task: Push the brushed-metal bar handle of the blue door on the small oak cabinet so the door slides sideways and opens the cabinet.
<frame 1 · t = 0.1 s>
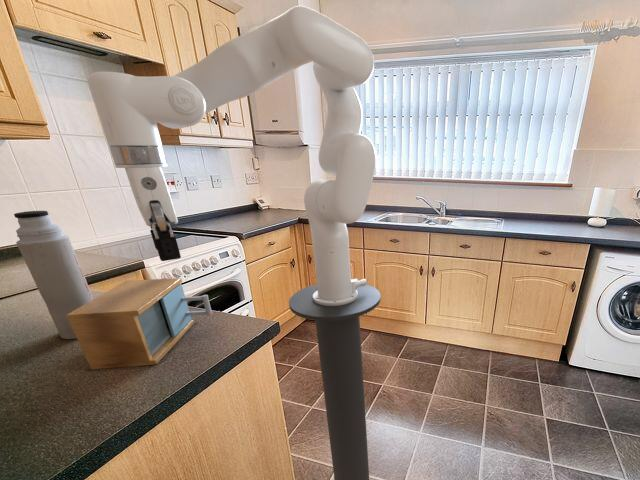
hand: (168, 253, 65), 21 cm above the table, tool pointing down, fingers open, 9 cm apart
thermos bottle: (83, 331, 81), on the table
cabinet: (148, 343, 75), on the table
blue door: (190, 308, 77), point 6 cm above the table, slide at 0.0 cm
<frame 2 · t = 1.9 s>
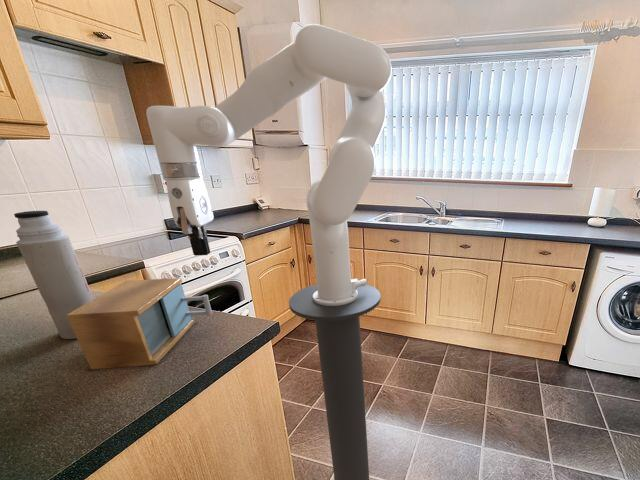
hand: (202, 254, 80), 17 cm above the table, tool pointing down, fingers closed
nothing on the table moved.
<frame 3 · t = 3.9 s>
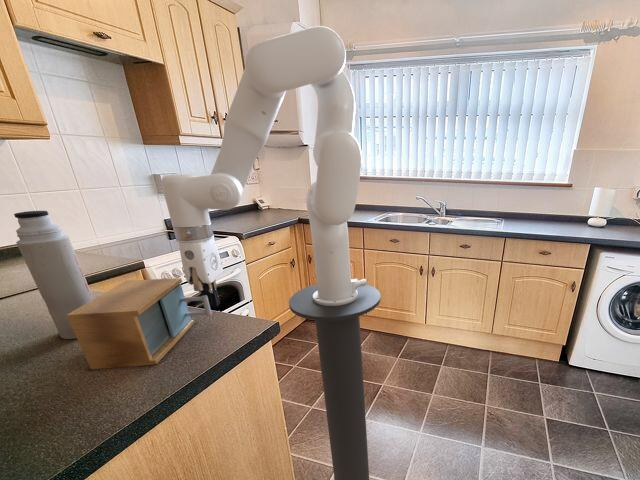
hand: (212, 305, 84), 4 cm above the table, tool pointing down, fingers closed
blue door: (189, 309, 77), point 6 cm above the table, slide at 0.3 cm, touching gripper
everything else where it was.
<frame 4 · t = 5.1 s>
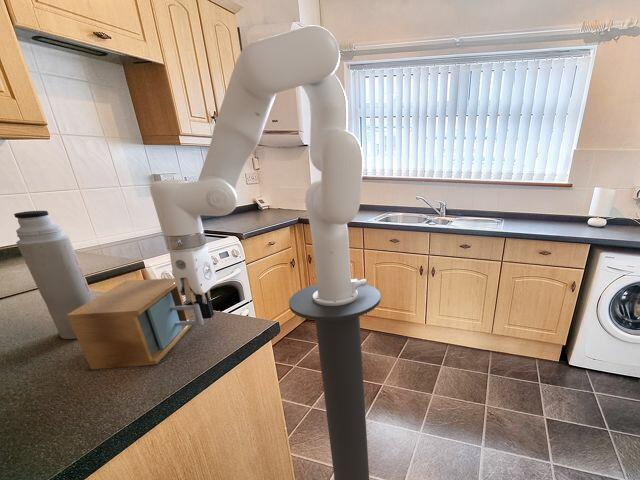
hand: (205, 316, 80), 3 cm above the table, tool pointing down, fingers closed
blue door: (179, 319, 73), point 6 cm above the table, slide at 5.2 cm, touching gripper
everything else where it was.
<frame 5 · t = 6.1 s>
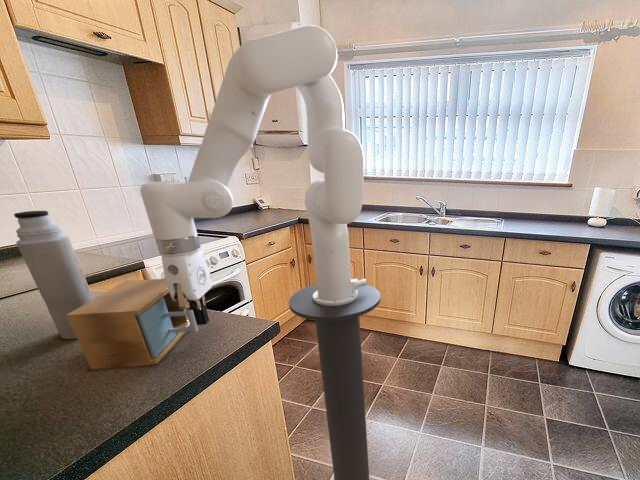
hand: (200, 323, 77), 3 cm above the table, tool pointing down, fingers closed
blue door: (173, 325, 70), point 6 cm above the table, slide at 8.3 cm, touching gripper
everything else where it was.
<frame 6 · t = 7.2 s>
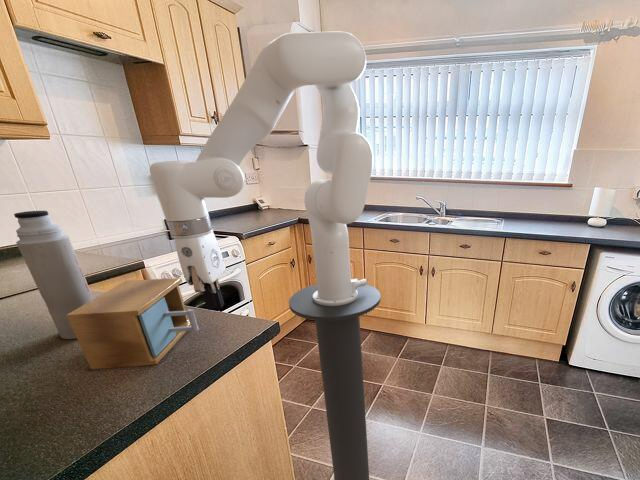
hand: (215, 307, 76), 7 cm above the table, tool pointing down, fingers closed
blue door: (173, 325, 70), point 6 cm above the table, slide at 8.0 cm
everything else where it was.
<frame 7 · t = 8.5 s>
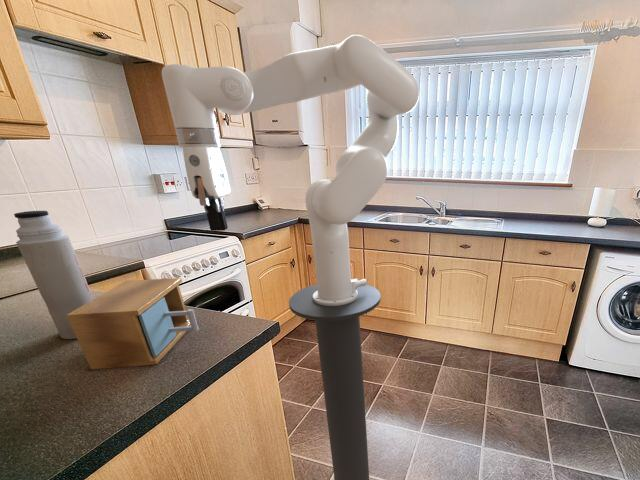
hand: (219, 229, 75), 23 cm above the table, tool pointing down, fingers closed
nothing on the table moved.
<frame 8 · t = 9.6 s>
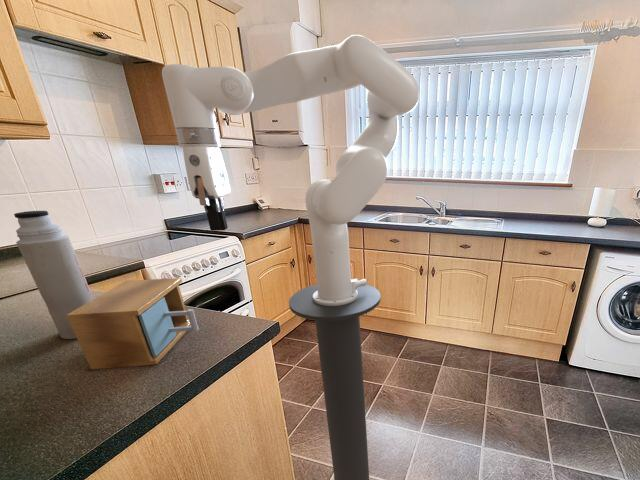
hand: (219, 229, 75), 23 cm above the table, tool pointing down, fingers closed
nothing on the table moved.
at the end: blue door slide at 8.0 cm; thermos bottle moved 0.2 cm from its start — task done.
